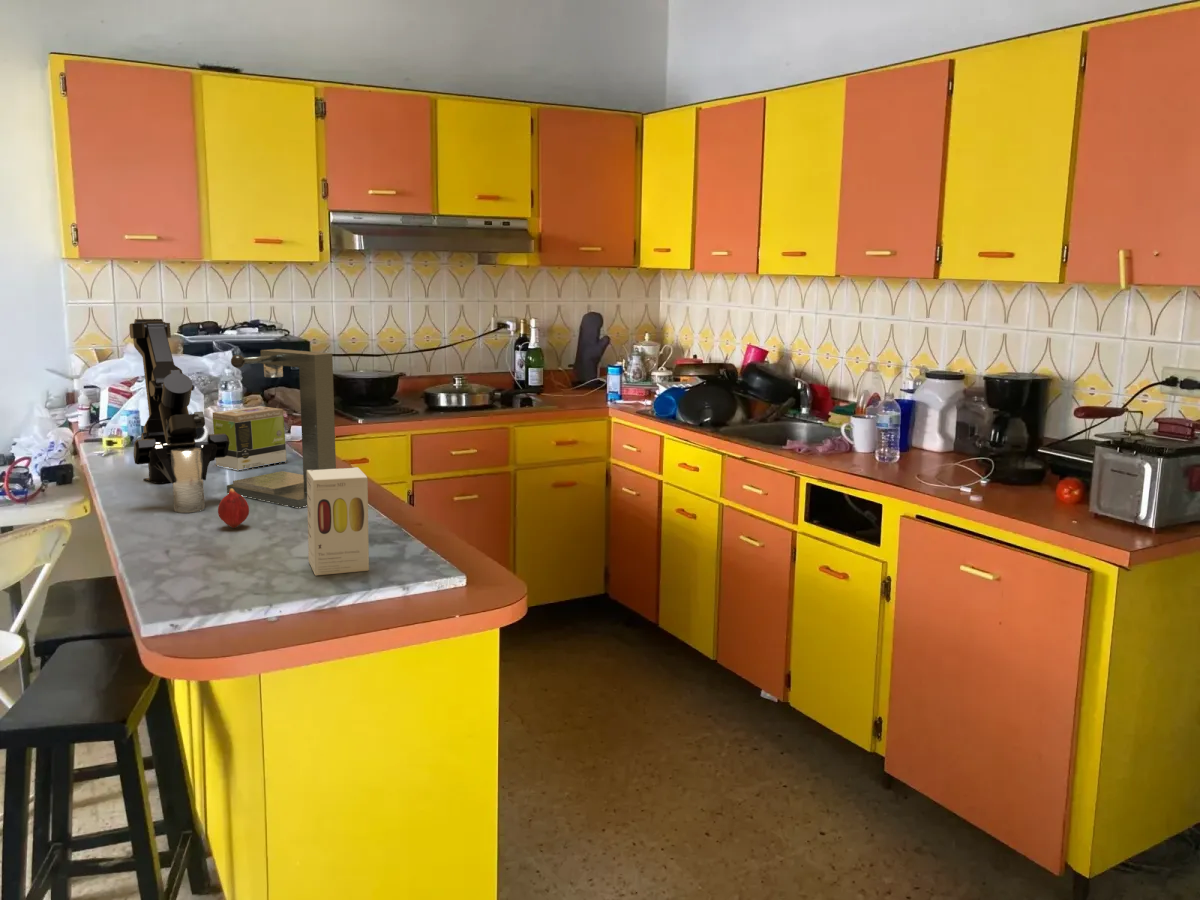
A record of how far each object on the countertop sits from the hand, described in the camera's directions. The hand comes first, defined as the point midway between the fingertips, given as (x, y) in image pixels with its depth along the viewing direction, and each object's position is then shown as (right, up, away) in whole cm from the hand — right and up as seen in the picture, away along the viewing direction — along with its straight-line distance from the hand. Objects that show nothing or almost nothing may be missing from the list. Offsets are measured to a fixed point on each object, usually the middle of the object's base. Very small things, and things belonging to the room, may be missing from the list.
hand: (189, 480), depth 208 cm
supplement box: (+41, -14, -35) cm, 56 cm away
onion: (+14, -9, -11) cm, 20 cm away
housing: (-1, -6, +2) cm, 7 cm away
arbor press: (+15, -4, +15) cm, 21 cm away
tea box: (-5, +2, +50) cm, 50 cm away
